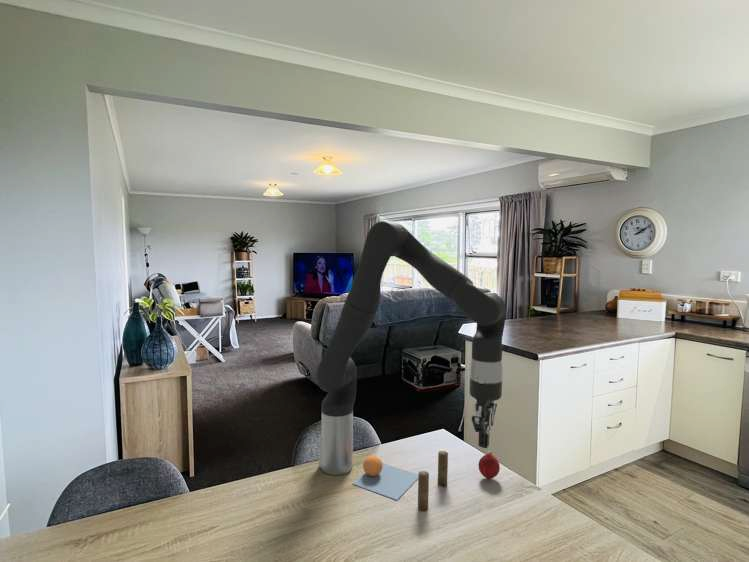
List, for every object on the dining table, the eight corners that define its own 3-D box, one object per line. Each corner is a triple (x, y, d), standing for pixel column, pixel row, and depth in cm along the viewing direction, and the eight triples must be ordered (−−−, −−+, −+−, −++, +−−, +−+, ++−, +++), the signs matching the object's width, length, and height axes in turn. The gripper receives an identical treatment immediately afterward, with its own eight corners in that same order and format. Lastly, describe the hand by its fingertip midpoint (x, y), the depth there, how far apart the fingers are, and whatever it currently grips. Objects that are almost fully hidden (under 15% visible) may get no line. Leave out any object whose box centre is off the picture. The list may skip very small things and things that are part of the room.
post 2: (436, 485, 116) (436, 453, 115) (439, 480, 118) (440, 450, 117) (445, 488, 114) (445, 456, 114) (448, 483, 117) (449, 452, 116)
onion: (500, 486, 116) (501, 458, 115) (478, 483, 117) (479, 455, 116) (498, 474, 121) (499, 448, 121) (477, 472, 123) (478, 446, 122)
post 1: (416, 509, 105) (416, 474, 104) (420, 503, 107) (421, 469, 107) (425, 512, 104) (426, 477, 103) (429, 507, 106) (430, 472, 105)
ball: (358, 474, 120) (361, 456, 119) (368, 465, 125) (371, 449, 124) (374, 483, 117) (377, 465, 116) (384, 474, 122) (387, 457, 121)
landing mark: (352, 484, 116) (352, 483, 116) (378, 462, 128) (378, 461, 128) (397, 500, 109) (397, 499, 109) (420, 475, 120) (420, 475, 120)
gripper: (479, 368, 109) (477, 432, 110) (461, 381, 98) (459, 453, 99) (508, 372, 105) (506, 439, 106) (493, 387, 94) (491, 462, 95)
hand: (483, 446), depth 103 cm, fingers closed
